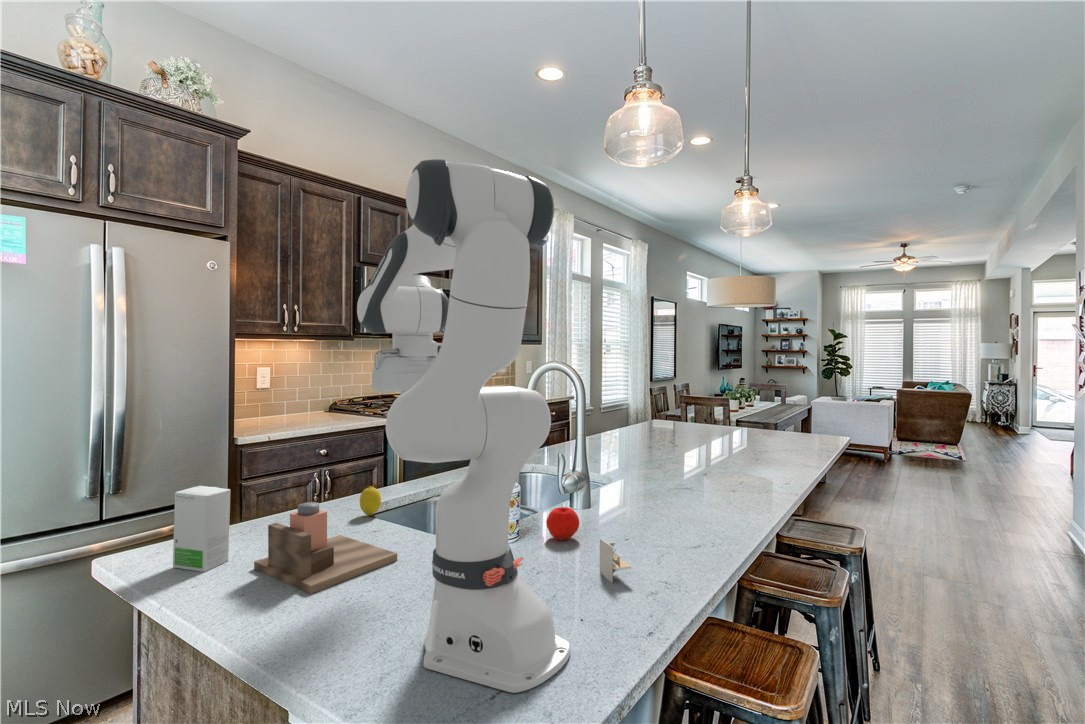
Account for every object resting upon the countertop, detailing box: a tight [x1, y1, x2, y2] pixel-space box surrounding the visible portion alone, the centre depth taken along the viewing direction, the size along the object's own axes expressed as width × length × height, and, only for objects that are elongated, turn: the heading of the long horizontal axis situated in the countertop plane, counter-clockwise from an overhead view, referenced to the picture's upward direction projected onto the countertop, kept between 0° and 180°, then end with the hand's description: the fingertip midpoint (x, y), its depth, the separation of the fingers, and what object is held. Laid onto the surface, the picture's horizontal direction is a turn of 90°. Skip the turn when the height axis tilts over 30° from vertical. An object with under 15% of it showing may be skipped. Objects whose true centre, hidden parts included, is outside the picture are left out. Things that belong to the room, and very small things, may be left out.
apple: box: [545, 506, 580, 541], centre depth 131 cm, size 8×8×7 cm
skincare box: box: [172, 485, 231, 573], centre depth 114 cm, size 8×7×16 cm
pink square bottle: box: [289, 501, 328, 551], centre depth 111 cm, size 5×5×12 cm
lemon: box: [359, 485, 382, 517], centre depth 149 cm, size 6×6×8 cm
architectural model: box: [599, 537, 632, 584], centre depth 109 cm, size 3×7×7 cm, turn 19°
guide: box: [253, 522, 398, 595], centre depth 115 cm, size 20×20×10 cm
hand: (412, 410), depth 124 cm, fingers closed
